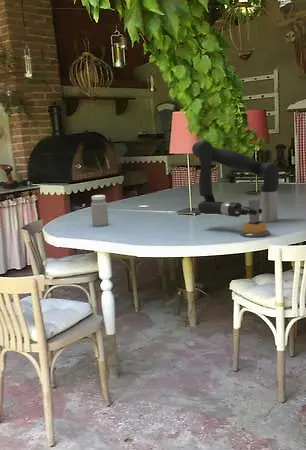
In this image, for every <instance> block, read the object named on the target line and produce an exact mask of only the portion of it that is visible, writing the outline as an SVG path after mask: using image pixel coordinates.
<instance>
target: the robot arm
mask: <svg viewBox="0 0 306 450" xmlns="http://www.w3.org/2000/svg"><path fill="white" fill-rule="evenodd" d="M191 150H192V154H193V155H194V156H195V157H196V158H198V159H199V161H200V170H199V176H198V189H199V196H200V197H203V198H204V200H203V201H200V202H199V203H198V204H197V209H198V212H199V213H201V214H204V215H221V216H227V217H235V218H238V217H240V216H247V215H248V216H249V215H250V214H252V215H257V210H249V206H246V205H242V204H241V202H233V201H232V202H231V201H216V200H215V195H214V193H213V185H212V183H213V181H212V167H213V166H212V165H213V164H212V163H213V162H216V163H217V164H220V165H222V166H224V167H227V168H231V169H234V170H236V171H242V172H247V173H251V174H253V175H256V176H257V177H260V178H262V179H263V184H262V185H261V186H260V217H261V218H260V219H261V221H262V222H266V223H273V222H278V215H279V213H278V212H279V211H278V187H279V183H280V181H279V180H280V170H279V167H278V166H277V164H276V163H272V162H263V161H259V160H254V159H252V158H251V157H249V156H247V155H245V154H243V153H241V152H237V151H234V150H230V149H223V148H218V147H215V146H213V145H212V143H211V142H209V140H208V141H207V140H199V141H197V142H195V143H193V145H192V148H191Z"/></svg>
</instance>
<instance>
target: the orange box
mask: <svg viewBox="0 0 306 450" xmlns="http://www.w3.org/2000/svg"><path fill="white" fill-rule="evenodd" d="M242 225H243V230H241V231H240V236H241V237H244V238H250V239H251V238H253V239H255V238H265V237H269V236H270V235H271V232H270V230H268V229H267V222H264V221H260V220H259V224H250V220H249V221H246V222H243V224H242Z"/></svg>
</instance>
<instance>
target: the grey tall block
mask: <svg viewBox="0 0 306 450" xmlns="http://www.w3.org/2000/svg"><path fill="white" fill-rule="evenodd" d="M248 207H249V210H257V215H252V214H250V215H248V216H249V221H250V224H259V221H260V216H261V213H260V209H261V199H256V198H252V199H249V200H248Z"/></svg>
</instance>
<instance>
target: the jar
mask: <svg viewBox="0 0 306 450" xmlns="http://www.w3.org/2000/svg"><path fill="white" fill-rule="evenodd" d="M90 198H91V203H90V208H91V209H90V210H91V211H90V212H91V222H92V225H93V226H94V227H105V226H107V225H108V224H109V212H108V203H107V199H106V195H105V194H95V195H92V196H91V197H90Z"/></svg>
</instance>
